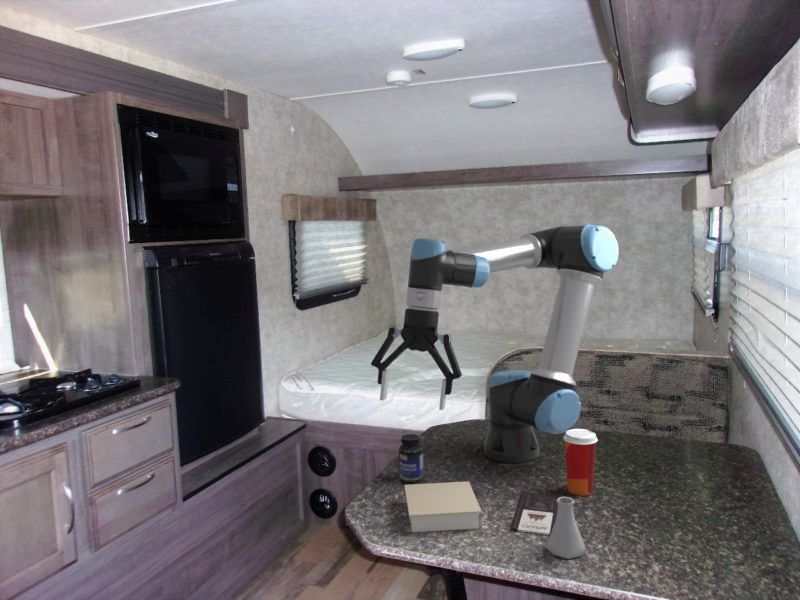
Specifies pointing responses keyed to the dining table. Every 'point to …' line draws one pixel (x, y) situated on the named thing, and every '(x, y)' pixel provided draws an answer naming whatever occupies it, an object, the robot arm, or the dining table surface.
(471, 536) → the dining table surface
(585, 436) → the paper cup
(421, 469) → the pill bottle
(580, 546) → the flask
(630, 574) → the dining table surface
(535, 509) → the chocolate bar
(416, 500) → the podium
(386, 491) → the dining table surface
